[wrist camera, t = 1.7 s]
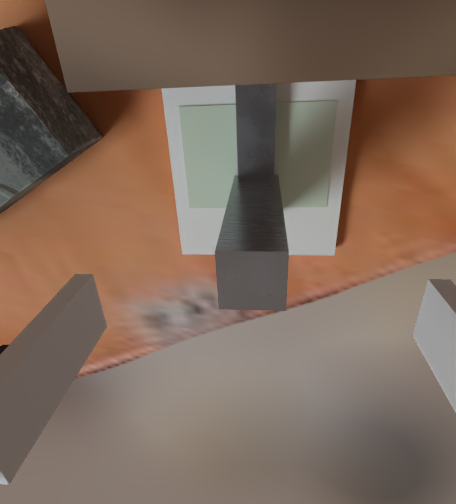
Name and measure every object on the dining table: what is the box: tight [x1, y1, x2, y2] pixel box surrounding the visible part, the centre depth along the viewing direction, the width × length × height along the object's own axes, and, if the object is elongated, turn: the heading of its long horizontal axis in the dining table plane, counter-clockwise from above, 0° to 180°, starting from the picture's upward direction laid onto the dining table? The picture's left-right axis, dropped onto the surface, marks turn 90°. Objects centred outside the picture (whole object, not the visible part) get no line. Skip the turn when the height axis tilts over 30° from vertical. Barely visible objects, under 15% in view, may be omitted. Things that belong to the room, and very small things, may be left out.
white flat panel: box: [162, 80, 356, 255], centre depth 21 cm, size 27×12×1 cm, turn 3°
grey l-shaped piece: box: [215, 83, 289, 311], centre depth 16 cm, size 16×5×11 cm, turn 3°
